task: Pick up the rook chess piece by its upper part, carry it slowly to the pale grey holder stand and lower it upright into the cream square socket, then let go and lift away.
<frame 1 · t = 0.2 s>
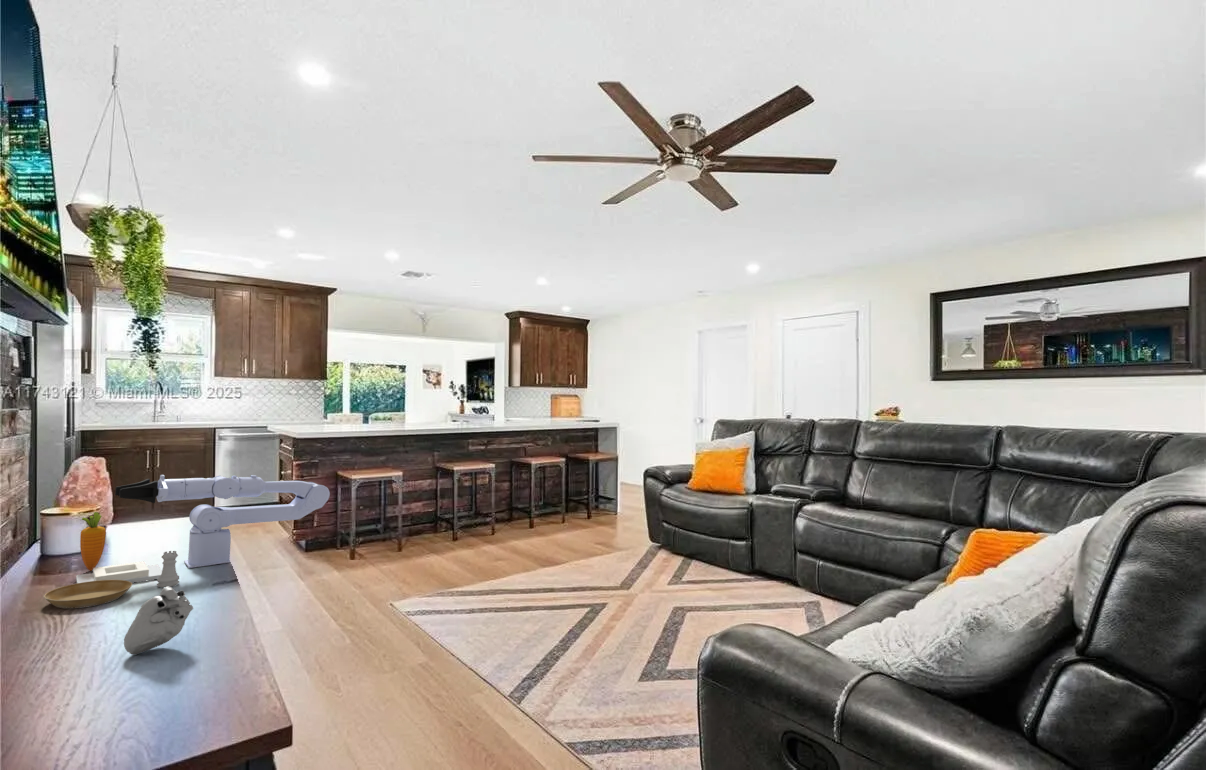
hand: (117, 492, 145), 21 cm above the table, tool horizontal, fingers open, 7 cm apart
heart: (155, 651, 103), on the table
carrot: (90, 571, 148), on the table
rook chess piece: (168, 586, 139), on the table
plant saucer: (89, 601, 127), on the table
holder stand: (120, 578, 142), on the table
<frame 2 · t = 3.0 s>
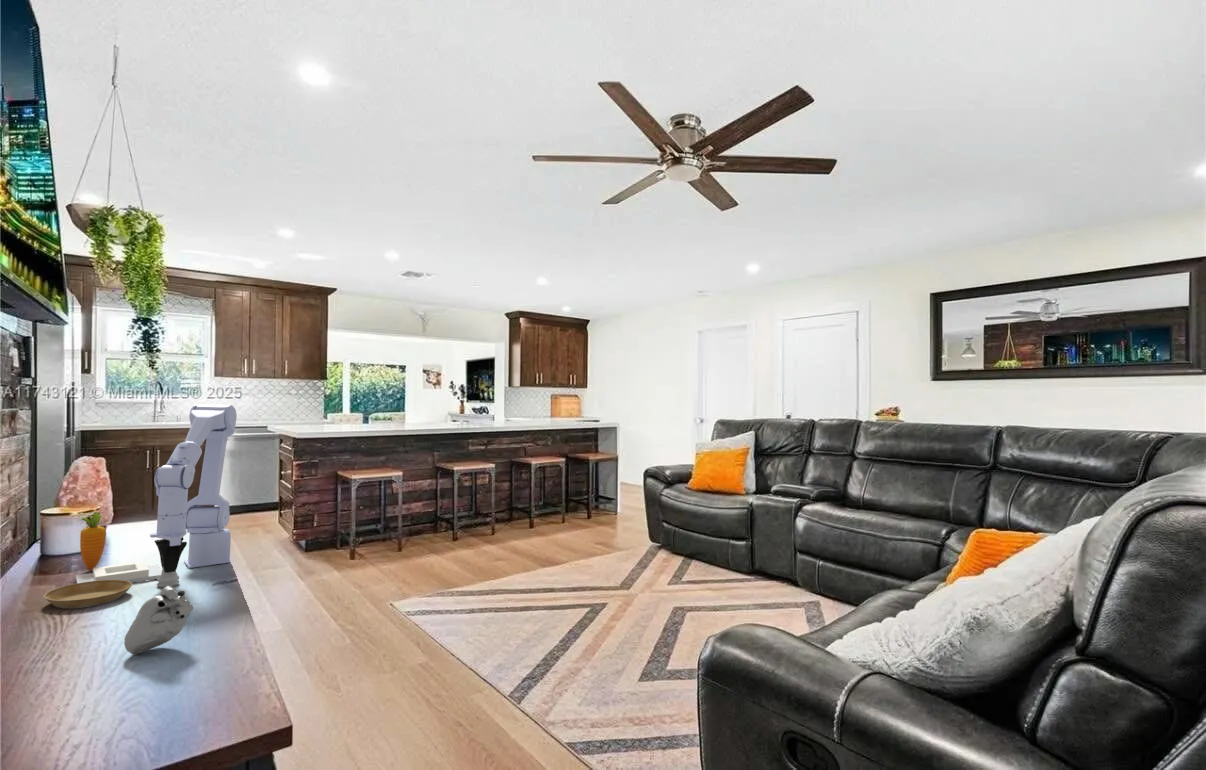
hand: (168, 570, 139), 4 cm above the table, tool pointing down, fingers closed on rook chess piece, 3 cm apart
rook chess piece: (168, 585, 139), on the table, touching gripper
everything else where it was.
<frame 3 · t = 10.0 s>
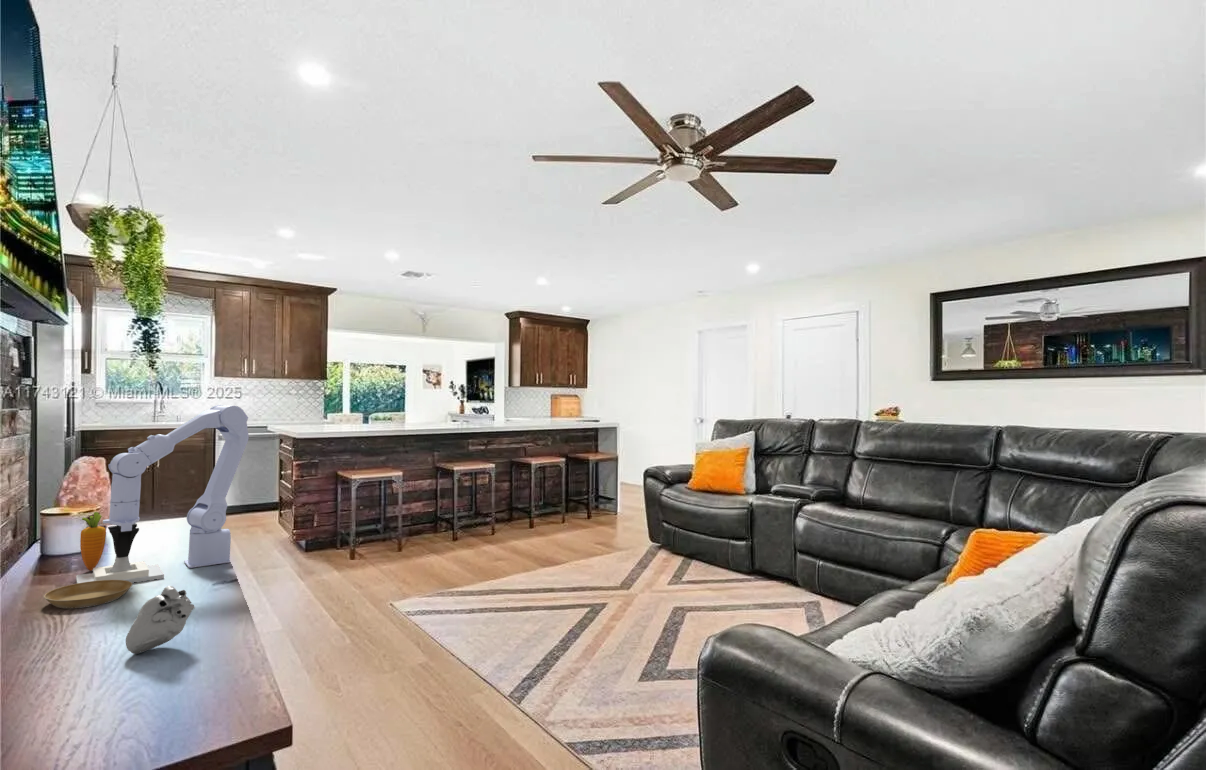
hand: (121, 555, 143), 6 cm above the table, tool pointing down, fingers closed on rook chess piece, 3 cm apart
rook chess piece: (120, 575, 142), point 1 cm above the table, touching gripper, holder stand
everything else where it was.
when the fingers open (5 cm above the table, at t = 10.6 s): rook chess piece stays where it is, resting on holder stand.
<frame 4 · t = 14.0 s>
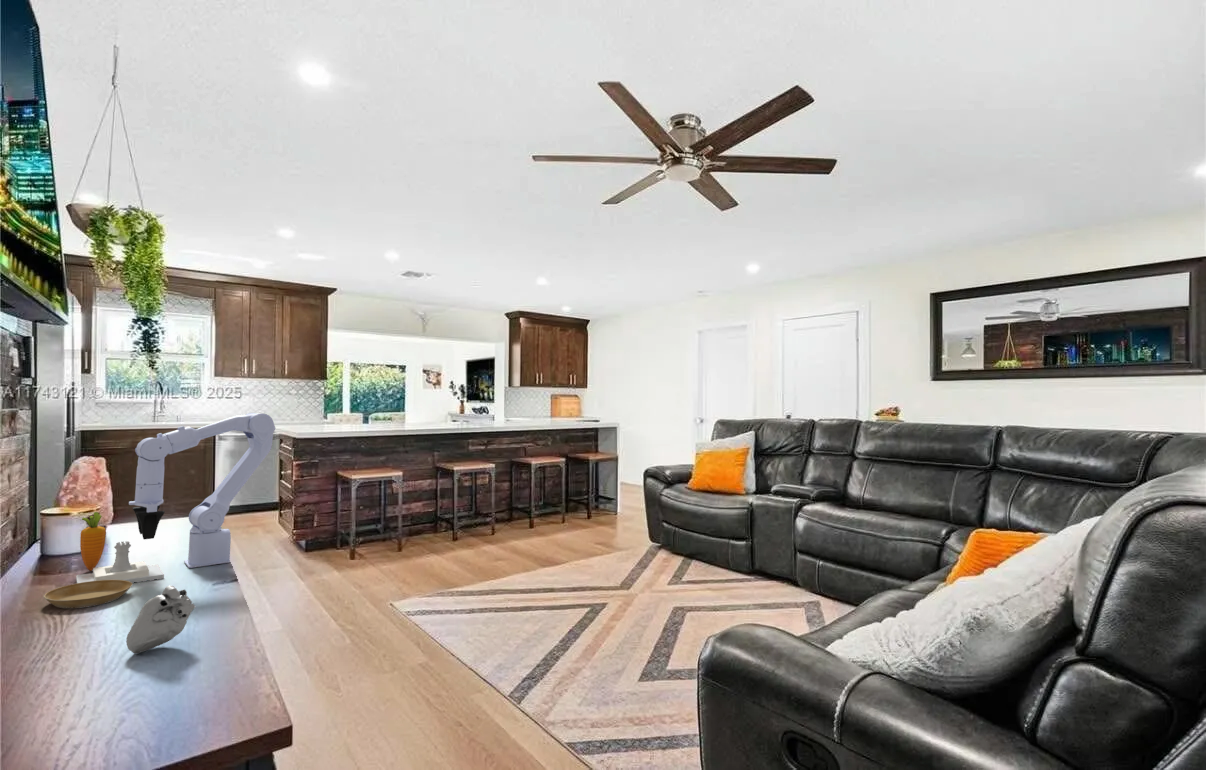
hand: (146, 536, 148), 9 cm above the table, tool pointing down, fingers open, 7 cm apart
rook chess piece: (120, 575, 142), point 1 cm above the table, touching holder stand
everything else where it was.
at the end: rook chess piece 0.0 cm off-centre on the holder stand, point 0.8 cm above the holder stand's base; rook chess piece tilted 0°; the gripper is holding nothing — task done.
